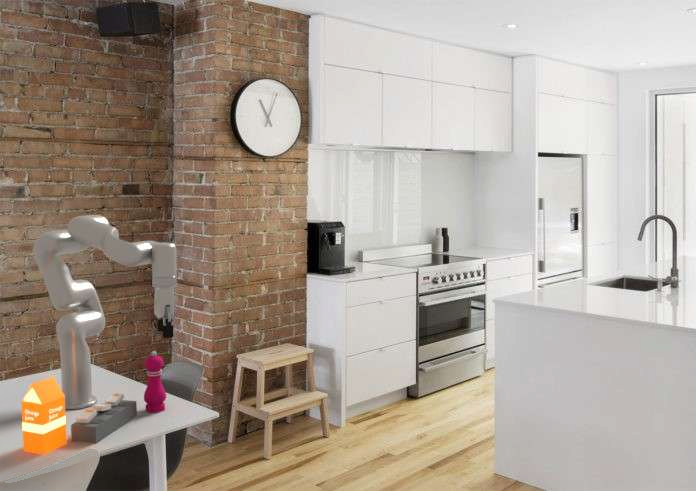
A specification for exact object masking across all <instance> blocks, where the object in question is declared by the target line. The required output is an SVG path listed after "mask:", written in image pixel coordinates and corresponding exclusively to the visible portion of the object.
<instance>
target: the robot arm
mask: <svg viewBox="0 0 696 491" xmlns="http://www.w3.org/2000/svg"><path fill="white" fill-rule="evenodd" d="M91 247H93V248H95V249H98V250H99V251H102V253H103V254H104V255H105V256H106V258H108V259H109V260H111V261H113V262H116V263H118V264H120V265H122V266H126V267H133V268H134V267H140V266H145V265H149V264H150V265H151V268H152V269H151V274H152V275H151V277H152V278H151V279H152V281H151V282H152V285H151V286H152V287H153V288H154V300H153V302H154V304H153V305H154V307H153V310H154V311H153V312H154V313H153V314H154V315H155V317H156V318H157V331H158V332H162V338H163V339H172V338H174V321H173V318H174V317H175V292H174V289H175V287H177V286H178V280H177V279H178V276H177V275H178V274H177V268H178V267H177V246H176V244H175V243H173V242H159V241H155V240H144V241H143V240H142V241H135V242H129V241H126V240H123V239H120V233H119V230H118V228H116V227H115V226H112V225H110V222H109V220H108V219H107V218H106V217H105V216H103V215H102V214H101V215H100V214H87V215H86V214H85V215H78V216H75V217H73V218H72V219H70V220H69V222H68V223H67V228H66V229H59V230H58V229H57V230H51V231H46V232H43V233H42V234H39V236H38V237H37V238H36V240H35V242H34V244H33V249H32V250H33V252H32V253H33V257H34V260H35V263H36V265H37V267H38V269H39V271H40V273H41V275H42V278H43V280H44V284H45V288H46V290H47V293H48V296H49V298H50V302H51V304H52V306H53V307H54V308H55V310H58V311H61V312H62V311H69V310H74V309H77V310H78V311H74V312H70V313H67V314H64V315H63V316H62V317H60V318H59V319H58V321H57V323H56V326H55V331H56V336H57V339H58V344H59V354H60V375H61V390H62V392H63V394H64V396H65V410H80V409H85V408H88V407H92V405H96V404H97V401H98V398H97V397H96V396H95V395H93V393H92V391H93V390H92V367H91V366H92V363H91V359H92V358H91V351H90V350H91V349H90V346H89V345H88V343H87V341H86V339H87V338H90V337H93V336H97V335H99V334H101V333H102V332H103V331H104V329H105V327H106V317H105V314H104V311H103V310H104V309H103V307H102V304H101V302H100V299H99V295H98V292H97V291H96V288H95V286H94V285H93V284H92V283H91V282H90V281H89V280H86V279H73V277H72V275H71V272H70V269H69V267H68V266H67V263H65V262H64V261H63V260H62V259H61V258H60V256H64V255H65V256H66V255H71V254H79V253H81V252H83V251H86V250H87V249H88V248H91Z"/></svg>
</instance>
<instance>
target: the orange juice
mask: <svg viewBox="0 0 696 491" xmlns="http://www.w3.org/2000/svg"><path fill="white" fill-rule="evenodd" d="M20 404H21V419H22V420H21V421H22V422H21V427H22V443H23V452H26V453H27V452H28V453H32V454H38V455H43V456H44V455H47V454H48V453H51V452H53V451H54V450H57V449H59V448H61V447H63V446H65V445H66V444H67V426H66V425H67V418H66V409H65V396H64V394H63V392H62V387H60V385H59V384H58V381H57V380H56V378H55V376H54V375H52V376H49V377H46V378H43V379H41V380H38V381H35V382H33V383H30V386H29V387H28V390H27V391H26V393H25V395H24V397H23V399H22V400H21V402H20Z"/></svg>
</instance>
